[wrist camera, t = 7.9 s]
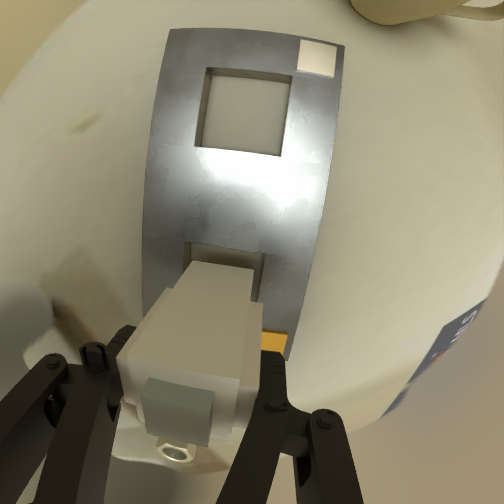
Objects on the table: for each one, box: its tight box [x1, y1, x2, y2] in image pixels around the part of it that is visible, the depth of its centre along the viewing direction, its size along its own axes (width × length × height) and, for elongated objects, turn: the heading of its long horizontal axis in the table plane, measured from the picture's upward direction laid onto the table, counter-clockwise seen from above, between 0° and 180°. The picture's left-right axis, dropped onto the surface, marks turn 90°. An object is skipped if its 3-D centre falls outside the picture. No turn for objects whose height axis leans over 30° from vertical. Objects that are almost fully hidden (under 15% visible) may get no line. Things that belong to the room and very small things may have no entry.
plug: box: [127, 260, 254, 447], centre depth 14 cm, size 4×4×11 cm
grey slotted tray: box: [142, 28, 345, 361], centre depth 19 cm, size 12×24×2 cm, turn 172°
